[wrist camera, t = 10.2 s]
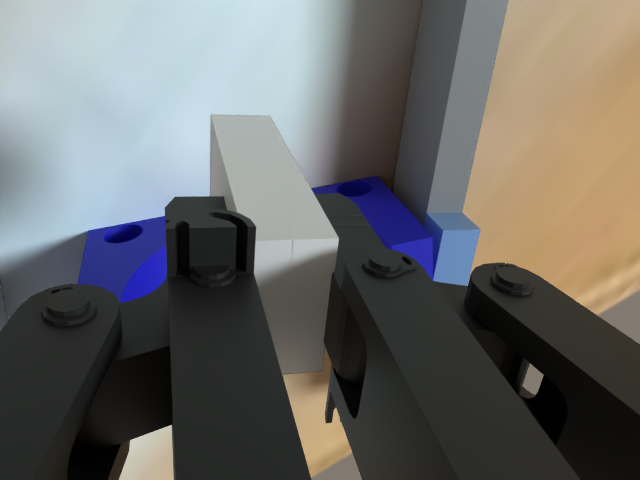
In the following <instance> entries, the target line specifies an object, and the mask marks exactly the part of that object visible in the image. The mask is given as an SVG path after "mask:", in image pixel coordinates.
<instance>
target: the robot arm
mask: <svg viewBox="0 0 640 480" xmlns="http://www.w3.org/2000/svg"><path fill="white" fill-rule="evenodd" d="M165 228H166V262H167V275H166V279H165V280H164V282H163V283H162V284H161V285H160V286H159V287H158V288H157V289H156V290H154V291H153V292H151V293H149V294H147V295H145V296H143V297H140V298H137V299H134V300H131V301H127V302H123V303H120V302H119V301H118V299H117V298H116V296H115V294H113V293H112V292H110V291H108V290H106V289H104V288H103V287H98V286H93V285H88V284H68V285H61V286H57V287H53V288H50V289H47V290H44V291H42V292H40V293H38V294H36V295H33V296H31V297H30V298H29V299H28V300H27V301H25V302H24V303H23V304H22V305H21V306H20V307H19V308H18V309H17V310H16V312H15V313H14V314H13V316H12V317H11V318H10V319H9V321H8V322H7V323H6V324H5V326H4V327H3V328H2V330H1V331H0V480H119V477H120V475H121V472H122V469H123V466H124V463H125V461H126V458H127V455H128V452H129V445H130V440H131V439H134V438H137V437H139V436H142V435H145V434H147V433H150V432H153V431H156V430H158V429H161V428H164V427H166V426H169V425H172V442H173V469H174V480H311V477H310V473H309V470H308V466H307V463H306V459H305V455H304V452H303V448H302V445H301V441H300V437H299V434H298V430H297V427H296V423H295V419H294V416H293V412H292V409H291V405H290V401H289V398H288V394H287V391H286V387H285V383H284V380H283V376H282V374H293V373H304V372H315V371H322V368H323V360H324V352H325V346H326V349H327V351H328V354H329V357H330V359H331V362H332V366H331V373H330V380H329V388H328V395H327V403H326V410H325V420H326V423H332V417H333V410H334V409H335V407H336V408H337V411H338V414H339V416H340V422H342V425H343V427H344V430H345V433H346V436H347V439H348V441H349V444H350V447H351V450H352V452H353V455H354V458H355V461H356V463H357V466H358V469H359V472H360V475H361V477H362V480H640V344H638V343H637V342H635V341H634V340H632V339H631V338H630V337H628V336H627V335H625V334H624V333H622V332H620V331H619V330H618V329H616V328H615V327H613V326H612V325H610V324H609V323H607V322H606V321H604V320H603V319H601V318H600V317H598V316H597V315H596V314H594V313H593V312H591V311H590V310H588V309H587V308H585V307H584V306H582V305H581V304H579V303H578V302H576V301H575V300H573V299H572V298H571V297H569V296H568V295H566V294H565V293H563V292H562V291H560V290H559V289H557V288H556V287H554V286H553V285H551V284H550V283H548V282H547V281H545V280H544V279H543V278H541V277H539V276H538V275H536V274H534V273H532V272H530V271H528V270H526V269H523V268H520V267H517V266H516V265H513V264H508V263H507V264H505V263H491V264H483V265H481V266H478V267H476V268H475V269H474V270H473V272H472V273H471V276H470V280H469V284H468V286H464V285H457V284H450V283H442V282H437V281H433V280H432V279H431V278H430V276H429V275H428V274H427V272H426V271H425V270H424V268H423V267H422V266H421V265H420V264H419V263H418V262H417V261H416V260H415V259H414V258H412V257H410V256H408V255H406V254H404V253H402V252H399V251H395V250H391V249H387V248H386V247H385V246H384V244H383V243H382V241H381V240H380V238H379V237H378V235H377V234H376V232H375V231H374V230H373V228H372V227H371V226H370V224H369V222H368V221H367V219H366V218H365V217H363V213H362V212H361V210H360V209H359V208H358V206H357V205H356V203H354V202H353V201H351V200H350V199H348V198H346V197H345V196H343V195H342V194H340V193H331V194H314V193H313V191H312V189H311V188H310V186H309V184H308V182H307V180H306V179H305V177H304V175H303V173H302V171H301V170H300V168H299V166H298V164H297V163H296V161H295V159H294V157H293V155H292V154H291V152H290V150H289V148H288V146H287V145H286V143H285V141H284V139H283V137H282V136H281V134H280V132H279V130H278V128H277V127H276V125H275V123H274V121H273V120H272V118H271V116H255V115H214V114H211V131H210V196H209V197H174V198H173V200H172V201H171V202H170V203H169V204H168V205H167V206H166V207H165ZM530 363H531V364H532V365H533V366H534V367H535V368H536V369H538V370H539V371H540V372H541V373H542V374H544V376H543V379H542V382H541V385H540V388H539V390H538V393H537V394H536V395H534V394H531V393H530V392H529V391H527V390H526V389H525V388H524V387H522V385H523V382H524V379H525V376H526V373H527V370H528V367H529V364H530Z"/></svg>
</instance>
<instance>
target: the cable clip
mask: <svg viewBox="0 0 640 480" xmlns="http://www.w3.org/2000/svg"><path fill="white" fill-rule="evenodd" d="M311 189H312V191H313V193H314V194H331V193H340V194H342V195H343V196H345V197H346V198H348V199H350V200H351V201H353V202H354V203H356V205H357V206H358V208H359V209H360V210H361V212H362V213H363V217H365V218H366V219H367V221H368V222H369V224H370V226H371V227H372V228H373V230H374V231H375V232H376V234H377V235H378V237H379V238H380V240H381V241H382V243H383V244H384V246H385V247H386V248H387V249H391V250H395V251H399V252H402V253H404V254H406V255H408V256H410V257H412V258H414V259H415V260H416V261H417V262H418V263H419V264H420V265H421V266H422V267H423V268H424V270H425V271H426V272H427V274H428V275H429V276H430V278H431V279H432V280H433V237H432V236H431V235H430V233H429V232H428V231H427V230H426V229H425V228H424V227H423V226H422V225H421V224H420V222H419V221H418V220H417V219H416V218H415V217H414V216H413V215H412V214H411V213H410V212H409V210H408V209H407V208H406V207H405V206H404V205H403V204H402V203H401V202H400V201H399V199H398V198H397V197H396V196H395V195H394V194H393V193H392V192H391V191H390V190H389V189H388V187H387V186H386V185H385V184H384V183H383V182H382V181H381V180H380V179H379V178H378V176H374V177H368V178H363V179H358V180H353V181H347V182H342V183H337V184H331V185H326V186H321V187H316V188H311ZM166 275H167V262H166V228H165V216H163V217H158V218H152V219H147V220H142V221H137V222H131V223H126V224H121V225H115V226H110V227H105V228H100V229H94V230H89V231H88V235H87V240H86V245H85V250H84V255H83V259H82V264H81V269H80V274H79V279H78V284H88V285H93V286H98V287H103V288H104V289H106V290H108V291H110V292H112V293H113V294H115V296H116V298H117V299H118V301H119V302H120V303H123V302H127V301H131V300H134V299H137V298H140V297H143V296H145V295H147V294H149V293H151V292H153V291H154V290H156V289H157V288H158V287H159V286H160V285H161V284H162V283H163V282H164V280H165V279H166Z"/></svg>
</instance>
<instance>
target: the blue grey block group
mask: <svg viewBox="0 0 640 480" xmlns="http://www.w3.org/2000/svg"><path fill="white" fill-rule="evenodd" d="M507 4H508V0H422V7H421V13H420V19H419V26H418V32H417V38H416V45H415V51H414V57H413V64H412V70H411V76H410V83H409V89H408V95H407V102H406V108H405V114H404V121H403V127H402V133H401V140H400V146H399V152H398V159H397V165H396V171H395V178H394V184H393V190H392V193H393V194H394V195H395V196H396V197H397V198H398V199H399V201H400V202H401V203H402V204H403V205H404V206H405V207H406V208H407V209H408V210H409V212H410V213H411V214H412V215H413V216H414V217H415V218H416V219H417V220H418V221H419V222H420V224H421V225H422V226H423V227H424V228H425V229H426V230H427V231H428V232H429V233H430V235H431V236H432V237H433V281H437V282H442V283H450V284H457V285H464V286H467V284H468V280H469V276H470V271H471V267H472V263H473V259H474V255H475V250H476V246H477V242H478V238H479V234H480V229H479V228H478V227H477V226H476V225H475V224H474V223H473V222H472V221H471V220H470V219H469V218H467V217H466V216H465V215H464V214H463V213H462V210H463V206H464V201H465V196H466V192H467V187H468V183H469V178H470V174H471V169H472V164H473V160H474V155H475V151H476V146H477V142H478V137H479V132H480V128H481V123H482V119H483V114H484V109H485V105H486V100H487V96H488V91H489V87H490V82H491V77H492V73H493V68H494V64H495V59H496V55H497V50H498V45H499V41H500V36H501V32H502V27H503V23H504V18H505V13H506V9H507ZM7 322H8V321H7V315H6V309H5V304H4V298H3V292H2V287H1V281H0V331H1V330H2V328H3V327H4V326H5V324H6V323H7Z"/></svg>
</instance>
